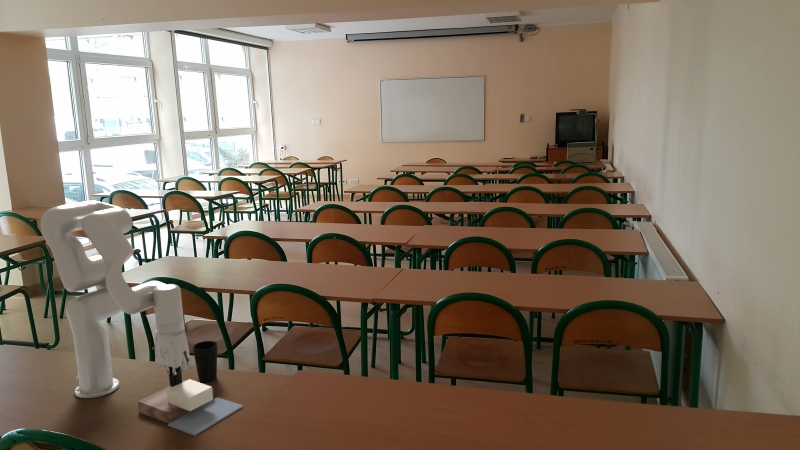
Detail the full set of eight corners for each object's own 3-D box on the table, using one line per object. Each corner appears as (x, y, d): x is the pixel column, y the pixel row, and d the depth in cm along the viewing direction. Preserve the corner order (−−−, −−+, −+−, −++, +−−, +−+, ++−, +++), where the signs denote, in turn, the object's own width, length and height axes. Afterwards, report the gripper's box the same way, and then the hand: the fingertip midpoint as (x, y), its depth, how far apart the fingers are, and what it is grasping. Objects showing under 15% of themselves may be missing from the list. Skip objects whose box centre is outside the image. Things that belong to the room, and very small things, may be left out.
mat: (167, 425, 163) (167, 424, 163) (217, 398, 178) (217, 397, 178) (194, 436, 157) (194, 434, 157) (243, 407, 172) (243, 405, 172)
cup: (212, 385, 187) (209, 350, 184) (191, 383, 188) (187, 349, 186) (224, 375, 194) (221, 341, 192) (203, 373, 196) (200, 340, 193)
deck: (139, 412, 170) (137, 401, 170) (183, 389, 184) (182, 379, 183) (170, 424, 164) (169, 412, 163) (214, 400, 177) (213, 389, 176)
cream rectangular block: (167, 402, 169) (166, 389, 168) (190, 391, 175) (189, 379, 175) (190, 411, 163) (188, 398, 163) (212, 399, 170) (211, 386, 169)
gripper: (142, 326, 170) (149, 385, 173) (177, 335, 162) (183, 396, 165) (164, 318, 176) (170, 375, 179) (198, 326, 168) (203, 385, 172)
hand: (176, 385), depth 172 cm, fingers closed
